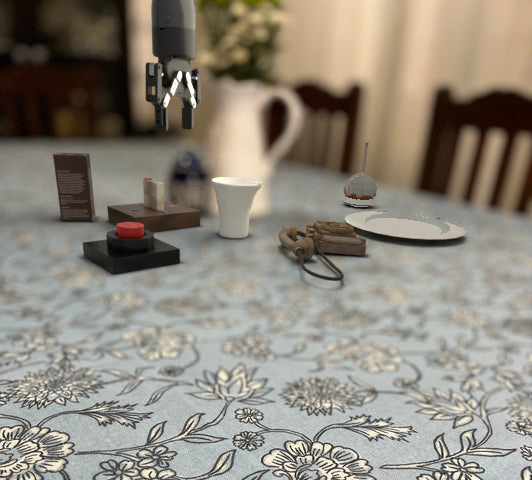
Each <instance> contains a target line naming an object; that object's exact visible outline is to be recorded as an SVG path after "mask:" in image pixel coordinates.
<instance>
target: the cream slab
mask: <svg viewBox="0 0 532 480" xmlns="http://www.w3.org/2000/svg"><path fill="white" fill-rule="evenodd" d="M142 186H143V203H144V206H146V207H148V208H151V209H154V210H156V211H161V210H164V201H165V196H164V195H165V193H164V182H161V181H159V180H154V179H153V178H152V177H144V178H143V179H142Z"/></svg>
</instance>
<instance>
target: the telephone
mask: <svg viewBox="0 0 532 480" xmlns="http://www.w3.org/2000/svg"><path fill="white" fill-rule="evenodd" d="M298 237H301V238H300V239H297V238H298ZM278 240H279V242H280V244H281V245H282V246H283V247H285V248H286V249H287V250H288V251H291V253H292V255H294V256H295V257H296V258H298V259H299V264H300V267H301V269H302V270H303V271H304V272H305V273H306V274H308V275H310V276H312V277H315V278H317V279H321V280H323V281H331V282H339V281H341V280H343V279H344V278H345V275H344V273H343V271H342V270H341V269H339V267H337V265H335V264H334V263H333V262H332V260H330V259H329V258H328V257H327V256H326V255H325V254H326V253H327V254H338V255H347V256H348V255H349V256H360V257H361V256H362V257H365V255H366V250H367V245H366V243H367V239H366V238H362V237H361V236H357V233H356V232H355V228H354V227H352V226H351V225H349V224H347V223H345V222H337V221H325V220H315V221H314V223H313V224H307V225H306V227H305V231H304V230H301V229H298V226H297V225H290V226H289V225H288V226H286V227H285V226H282V228H281V229H280V231H279V232H278ZM316 253H318V254H319V255H320V256H321V258H322V259H324V261H326V263H327V264H328V265H329V266H330V267H331V268H332V269H333V270H335V272H336V273H338V274H339V276H328V275H323V274H320V273H317V272H315V271H312V270H310V269H308V268H307V267H306V266H305V264H304V261H310V260H311V259H312V258H313V256H314V255H315V254H316ZM324 253H325V254H324Z"/></svg>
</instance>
